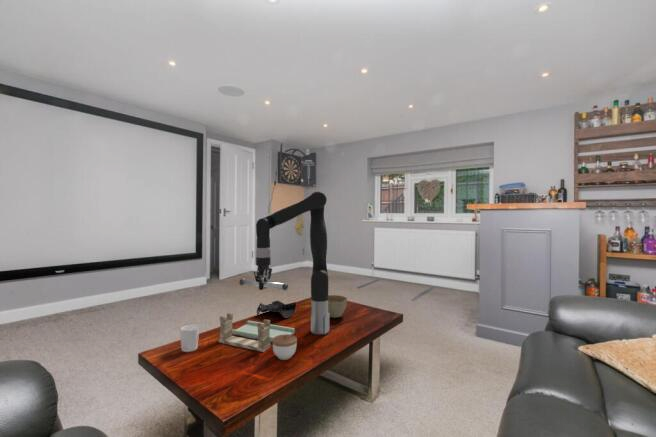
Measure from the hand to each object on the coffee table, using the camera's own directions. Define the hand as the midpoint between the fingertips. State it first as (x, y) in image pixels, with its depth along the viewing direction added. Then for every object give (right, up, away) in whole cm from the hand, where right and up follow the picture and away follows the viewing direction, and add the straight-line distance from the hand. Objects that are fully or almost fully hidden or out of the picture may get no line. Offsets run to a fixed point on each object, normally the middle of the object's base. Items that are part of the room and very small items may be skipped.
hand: (263, 288), depth 156 cm
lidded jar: (+15, -24, -26) cm, 38 cm away
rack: (-6, -24, -14) cm, 28 cm away
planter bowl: (+38, -24, +30) cm, 54 cm away
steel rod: (0, +2, 0) cm, 2 cm away
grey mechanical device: (+2, -24, +29) cm, 37 cm away
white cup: (-30, -24, -19) cm, 43 cm away
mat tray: (0, -24, 0) cm, 24 cm away
